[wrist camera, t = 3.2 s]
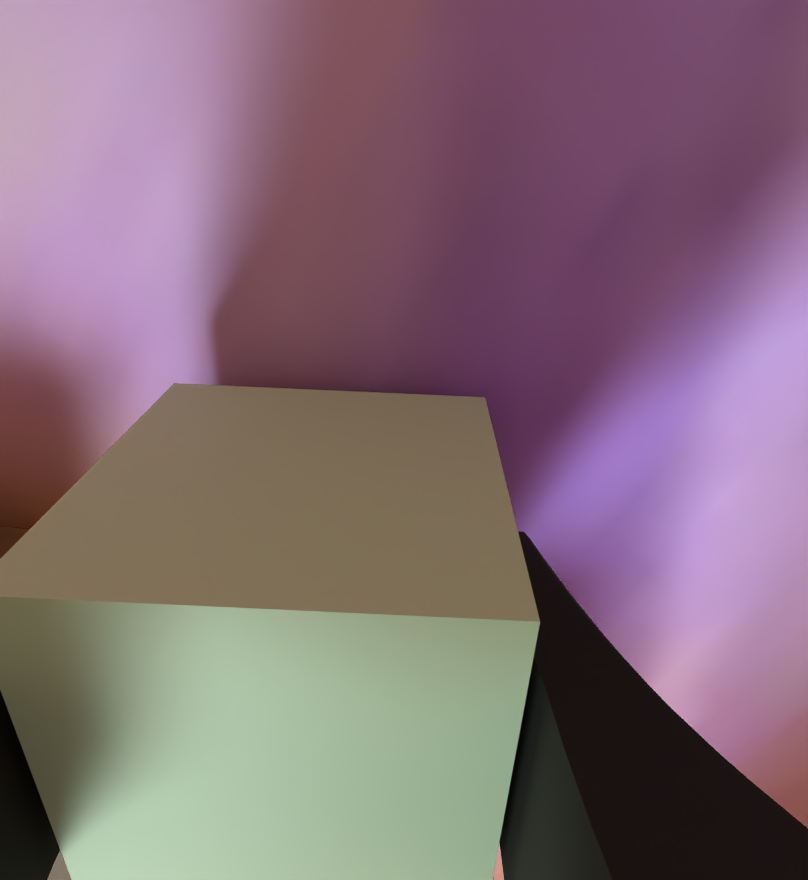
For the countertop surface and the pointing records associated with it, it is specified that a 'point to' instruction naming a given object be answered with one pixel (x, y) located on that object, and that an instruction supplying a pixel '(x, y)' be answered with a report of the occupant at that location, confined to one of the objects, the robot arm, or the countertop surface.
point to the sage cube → (276, 641)
